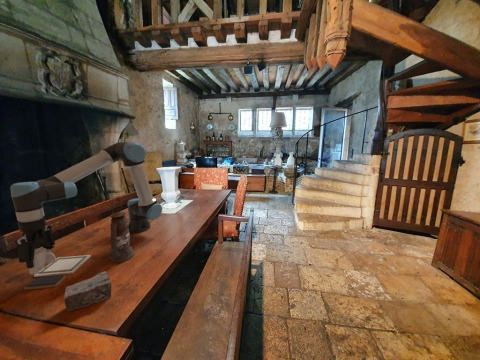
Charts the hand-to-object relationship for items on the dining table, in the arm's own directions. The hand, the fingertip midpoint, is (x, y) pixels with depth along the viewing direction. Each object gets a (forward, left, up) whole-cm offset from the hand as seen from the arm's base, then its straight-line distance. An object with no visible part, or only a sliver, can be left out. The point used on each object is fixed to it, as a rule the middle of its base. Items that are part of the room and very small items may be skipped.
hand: (42, 267), depth 79 cm
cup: (0, 0, 0) cm, 0 cm away
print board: (+1, -13, -8) cm, 15 cm away
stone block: (-25, +12, -9) cm, 29 cm away
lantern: (-25, -17, -8) cm, 31 cm away
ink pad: (0, 0, -8) cm, 8 cm away
